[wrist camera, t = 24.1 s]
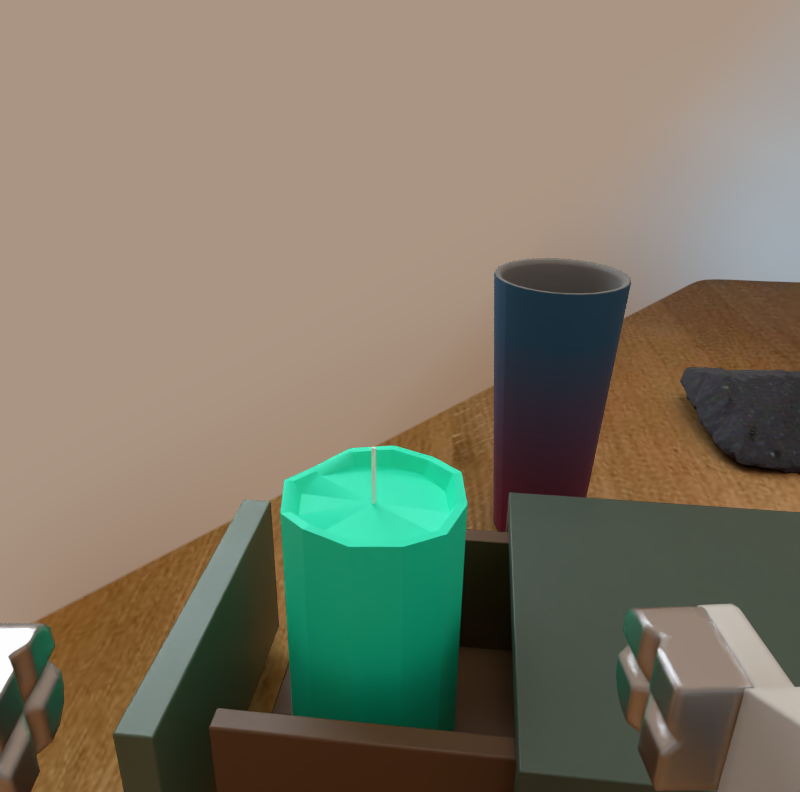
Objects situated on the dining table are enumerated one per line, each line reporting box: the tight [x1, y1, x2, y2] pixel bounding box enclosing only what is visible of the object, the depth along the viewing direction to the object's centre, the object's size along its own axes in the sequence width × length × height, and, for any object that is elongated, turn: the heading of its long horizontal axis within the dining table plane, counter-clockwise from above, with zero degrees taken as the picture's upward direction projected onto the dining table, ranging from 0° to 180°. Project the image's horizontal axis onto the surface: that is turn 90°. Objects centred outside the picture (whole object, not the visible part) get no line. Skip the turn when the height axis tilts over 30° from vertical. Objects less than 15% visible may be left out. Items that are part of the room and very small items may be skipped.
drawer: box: [113, 500, 516, 792], centre depth 28 cm, size 16×12×7 cm
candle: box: [280, 446, 467, 731], centre depth 26 cm, size 6×6×12 cm
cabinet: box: [506, 492, 800, 792], centre depth 26 cm, size 16×14×9 cm
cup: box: [494, 258, 631, 532], centre depth 42 cm, size 7×7×15 cm
